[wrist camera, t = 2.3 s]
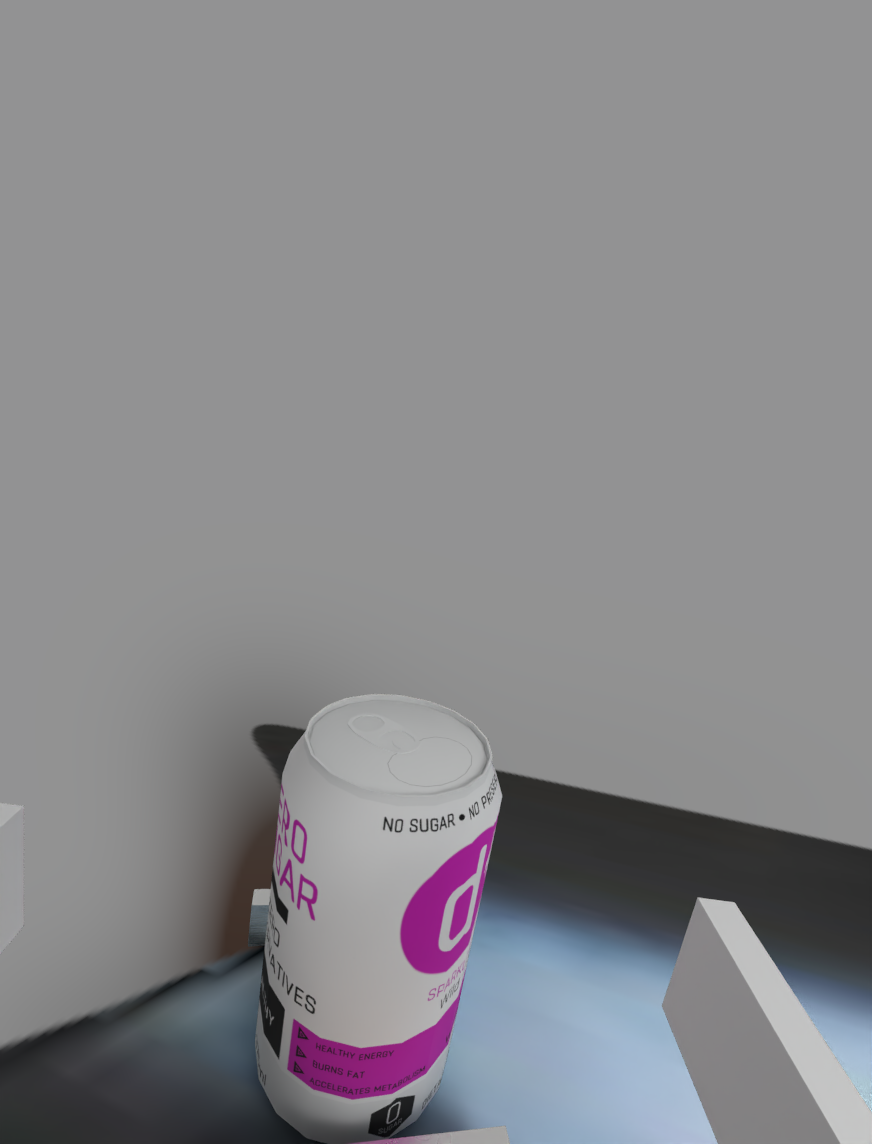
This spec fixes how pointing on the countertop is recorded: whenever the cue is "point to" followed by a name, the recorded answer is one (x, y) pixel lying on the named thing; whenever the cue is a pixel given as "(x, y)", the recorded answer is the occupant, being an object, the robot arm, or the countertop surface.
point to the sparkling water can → (372, 913)
